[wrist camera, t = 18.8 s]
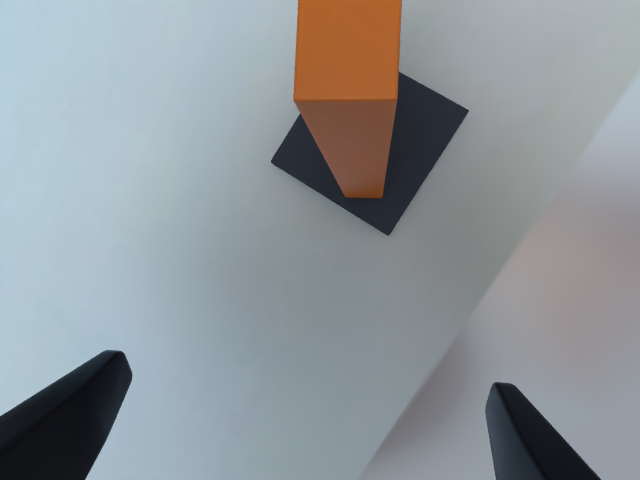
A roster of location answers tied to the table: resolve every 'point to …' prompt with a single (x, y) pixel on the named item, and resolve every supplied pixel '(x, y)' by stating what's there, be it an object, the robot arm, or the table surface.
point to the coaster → (403, 162)
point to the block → (349, 86)
